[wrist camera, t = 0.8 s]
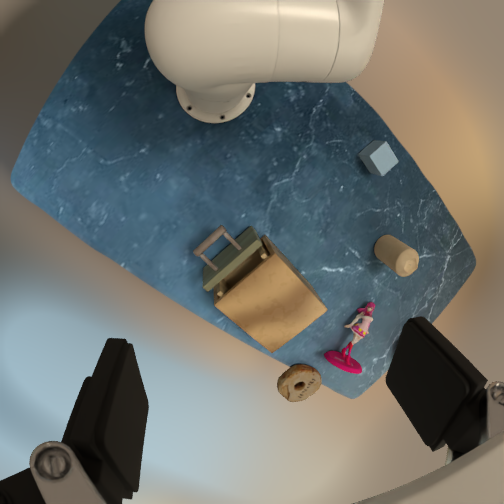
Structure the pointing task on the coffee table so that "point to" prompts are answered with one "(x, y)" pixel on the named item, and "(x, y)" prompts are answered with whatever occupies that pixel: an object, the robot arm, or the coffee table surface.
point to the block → (378, 157)
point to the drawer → (231, 259)
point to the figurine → (353, 341)
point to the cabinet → (271, 301)
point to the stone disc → (299, 382)
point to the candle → (396, 255)
